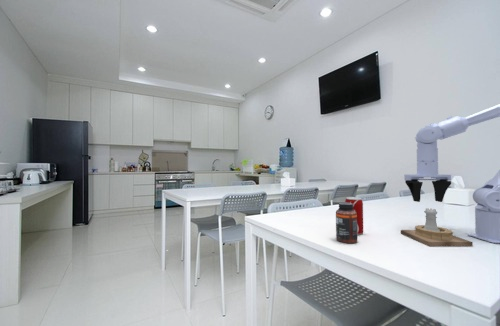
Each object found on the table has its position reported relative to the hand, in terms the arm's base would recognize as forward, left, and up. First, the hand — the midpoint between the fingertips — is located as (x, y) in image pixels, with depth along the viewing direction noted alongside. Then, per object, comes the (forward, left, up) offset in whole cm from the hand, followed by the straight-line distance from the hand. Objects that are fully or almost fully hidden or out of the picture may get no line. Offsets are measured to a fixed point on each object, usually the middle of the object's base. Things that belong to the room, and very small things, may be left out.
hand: (427, 201), depth 76 cm
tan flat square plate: (+5, +8, -10) cm, 14 cm away
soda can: (+26, +1, -11) cm, 28 cm away
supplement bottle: (+32, +9, -11) cm, 35 cm away
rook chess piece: (+5, +8, -9) cm, 13 cm away
